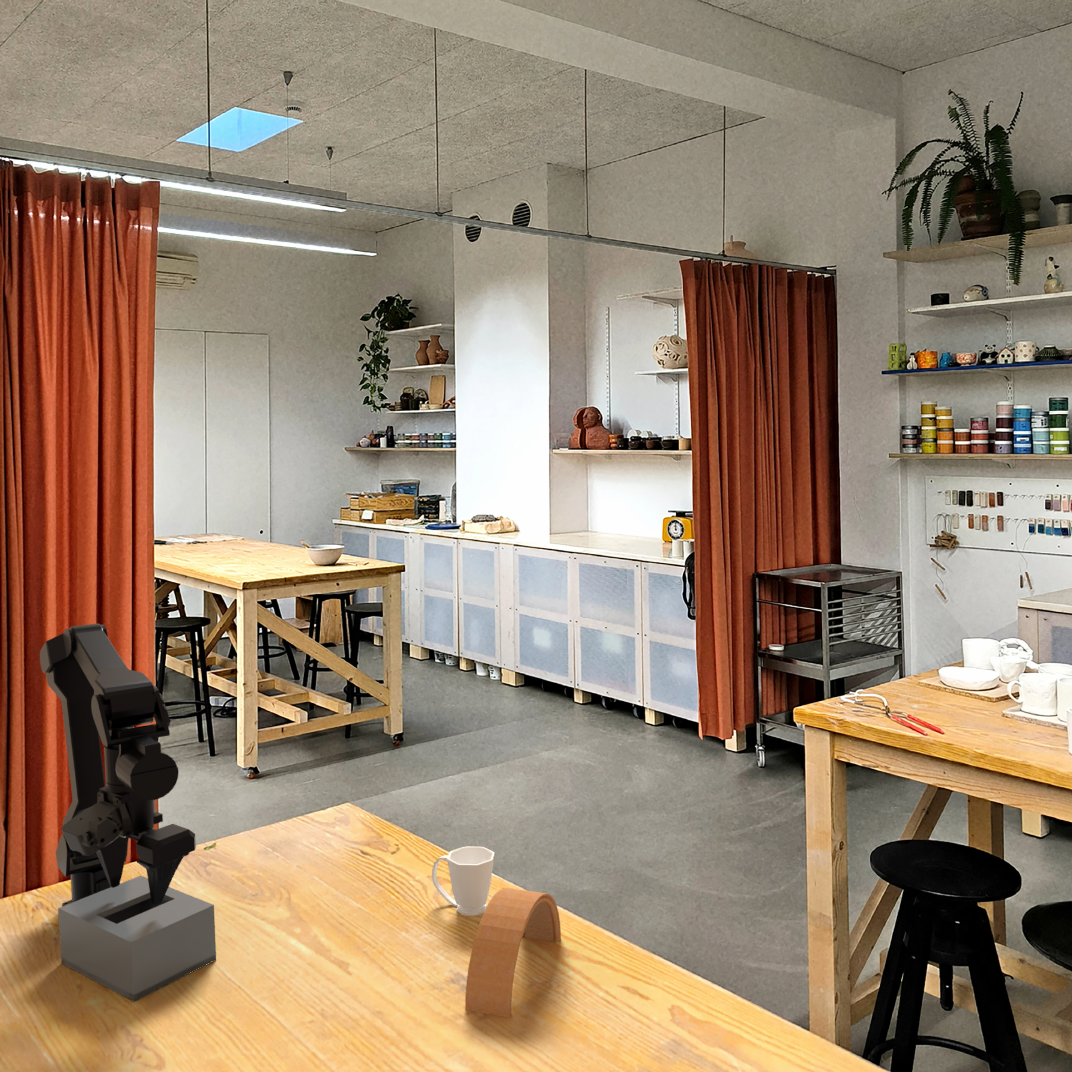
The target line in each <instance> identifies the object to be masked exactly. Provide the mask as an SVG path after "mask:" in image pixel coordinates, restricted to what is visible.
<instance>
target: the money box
mask: <svg viewBox="0 0 1072 1072" xmlns="http://www.w3.org/2000/svg"><path fill="white" fill-rule="evenodd" d="M57 911H58V928H59V929H58V930H59V931H58V932H59V944H60V945H59V946H60V963H61V964H62V965H64V966H66V967H67V968H68V969H69V968H70V970H72V971H75V972H77V973H78V974H81V975H82V976H84V977H86V978H88V979H90V980H91V981H94V982H96V983H97V984H100V985H101V986H103V987H105V988H107V989H110V990H111V991H113V992H115V993H117V994H119V995H121V996H122V997H124V998H126V999H128V1000H129V1001H133V1002H136V1001H138V1000H140V999H142V998H143V997H146V996H148V995H150V994H152V993H153V992H156V991H159V990H160V989H162V988H163V987H165V986H168V985H170V984H171V983H174V982H175V981H178V980H179V979H180V980H181V979H182V978H184V977H185V975H186V976H187V974H188V975H189V973H190V972H192V971H194V970H196V969H197V970H199V969H201V968H203V967H205V966H207V965H209V964H211V963H212V962H211V961H213V962H215V961H217V949H216V947H217V944H216V925H215V924H216V921H215V905H214V904H212V903H210V902H208V901H205V900H203V899H200V898H198V897H195V896H193V895H190V894H188V893H185V892H183V891H180V890H177V889H175V888H173V887H170V886H169V887H168V889H167V892H166V894H165V896H164V898H163V901H162V903H161V904H158V905H156V906H154V905H153V904H152V900H151V896H150V890H149V883H148V877H146V876H142V875H139V876H136V877H133V878H130V879H128V880H126V881H123V882H120V884H119V886H117V887H114V888H112V887H110V888H108V889H105V890H103V891H100V892H98V893H95V894H93V895H90V896H88V897H85V898H83V899H80V900H78V901H75V902H73V903H70V904H67V905H65V906H62V905H61V906H60V907H58V909H57ZM214 960H215V961H214ZM210 962H211V963H210ZM208 963H209V964H208ZM206 964H207V965H206ZM202 966H203V967H202ZM200 967H201V968H200ZM198 968H199V969H198ZM197 970H196V971H197ZM194 972H195V971H194ZM192 973H193V972H192ZM190 974H191V973H190ZM181 977H182V978H181Z"/></svg>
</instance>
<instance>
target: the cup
mask: <svg viewBox="0 0 1072 1072" xmlns="http://www.w3.org/2000/svg"><path fill="white" fill-rule="evenodd" d="M441 860H442V861H445V862H447V867H448V872H449V873H448V874H449V877H450V883H451V890H452V894H453V897H451V896H450V895H449V894H448V893H447V892H446V891H445V889H443V887H442V886H441V885H440V883H439V880H438V877H437V870H438V866H439V863H440V862H441ZM494 861H495V851H493V850H491V849H489V848H486V847H484V846H469V845H468V846H462V847H460V848H459V847H458V848H456V849H453V850H450V851H449V853H448V855H442V856H440V857H438V858H437V859H436V860H435V861H434V863H433V867H432V869H431V870H432V871H431V880H432V883H433V885H434V887H435V889H436V890H437V892H438V893H439V894H440V895H441V896H442V898H444V899H445V900H446V901H447V902H448V903H449V904H451V905H452V906H453V907H456V912H457V913H459V914H460V915H462V916H467V917H468V916H470V917H472V916H473V917H476V916H479V915H483V914H484V911H485V909H486V907H487V905H488V904H487V902H488V896H489V893H490V888H491V882H492V875H493V868H494ZM453 898H454V899H453Z"/></svg>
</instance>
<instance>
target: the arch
mask: <svg viewBox="0 0 1072 1072" xmlns="http://www.w3.org/2000/svg"><path fill="white" fill-rule="evenodd" d="M561 930H562V929H561V921H560V913H559V910H558V906H557V904H556V900H555V898H554V897H553V896H552V895H551V894H550V893H544V892H537V891H533V890H532V891H531V890H525V889H518V888H510V887H502V888H501V889H499V890H497V892H495V894H494V895H493V896H492V898H491V899H490V900H489V902H488V904H487V907H486V909H485V911H484V913H482V916H481V919H480V922H479V923H478V928H477V930H476V934H475V937H474V941H473V945H472V949H471V952H470V959H469V963H468V968H467V976H466V977H467V978H466V983H465V984H466V986H465V999H464V1001H465V1005H464V1006H465V1007H464V1008H465V1009H464V1010H466V1011H472V1012H477V1013H483V1014H488V1015H493V1016H498V1017H504V1018H510V1017H511V1015H512V1002H513V1000H512V998H513V987H514V978H515V972H516V966H517V960H518V956H519V953H520V952H519V950H520V947H521V944H522V939H523V937H524V938H527V939H534V940H538V941H539V940H540V941H546V942H547V941H548V942H554V943H558V942H560V941H561V939H562V937H561V936H562V931H561Z"/></svg>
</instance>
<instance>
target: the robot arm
mask: <svg viewBox="0 0 1072 1072" xmlns="http://www.w3.org/2000/svg"><path fill="white" fill-rule="evenodd" d="M108 634H109V633H108V630H107V627H106V626H105V624H100V623H91V624H89V623H88V624H80V625H73V626H70V627H69V628H65V630H64V631H63V632H62V633H60V634H59V635H56V636H54V637H51V638H50V639H48V640H46V641H45V642H44V644H43V645H42V647H41V649H40V651H39V663H40V668H41V671H42V673H43V674H45V676H46V677H45V678H46V684H47V686H48V687H49V688H50V689H51V690H52V692H53V693H54V694H55V695H56V696H57V697H58V698H59V700H60V701H61V707H62V718H63V727H64V735H65V743H66V746H65V747H66V753H67V754H66V755H67V762H68V763H67V765H68V772H69V780H70V788H71V798H72V800H71V801H72V802H71V804H70V806H69V808H68V809H67V811H66V813H65V816H64V818H63V820H62V826H61V832H62V834H60V838H59V841H58V843H57V844H58V845H57V847H56V851H55V856H56V857H55V858H56V863H57V864H56V866H57V868H58V869H59V870H60V871H61V873H62V874H63V876H64V877H65V878H66V877H70V887H71V889H70V893H71V899H70V900H68V901H67V900H66V901H64V902H63V903H61V907H62V906H65V905H67V904H70V903H73V902H75V901H78V900H80V899H83V898H85V897H88V896H90V895H93V894H95V893H98V892H100V891H103V890H105V889H108V888H110V887H112V888H114V887H117V886H119V884H120V883H121V880H122V877H123V872H124V866H125V863H126V862H127V857H128V849H129V839H130V840H133V841H136V843H135V849H136V850H135V851H136V855H137V856H138V858H139V859H137V860H136V861H135V862H136V863H137V864H139V865H140V866H142V867H143V868H144V869H145V870H146V875H147V878H148V883H149V890H150V896H151V900H152V904H153V905H154V906H156V905H158V904H161V903H162V901H163V898H164V896H165V894H166V892H167V889H168V887H170V885H171V882H172V880H173V878H174V875H175V873H176V871H177V870H178V867H179V866H180V865H181V862H182V861H183V859H184V858H185V857H186V856H189V855H190V853H192V852H194V851H196V849H197V843H196V842H197V841H196V833H194V831H192V830H190V829H189V828H186V827H184V826H180V825H179V824H178V825H177V824H175V823H169V824H168V825H165V826H162V827H159V828H154V827H155V825H157V824H160V823H162V822H164V819H163V817H164V816H163V813H160V812H158V811H156V800H159V799H162V798H163V797H166V796H167V795H168V794H169V793H170V792H171V791H172V790H173V789H174V788H175V786H176V784H177V782H178V779H179V767H178V765H177V762H176V761H175V760H174V758H173V757H172V756H170V755H169V754H168V753H166V752H164V751H163V750H162V745H161V744H162V743H160V741H158V739H159V738H163V737H168V736H170V734H171V732H170V729H169V727H170V724H171V718H170V715H169V713H168V709H167V707H166V703H165V700H164V698H163V695H162V694H161V693H160V690H159V688H158V687H157V686H156V685H154V683H153V682H152V681H151V680H150V679H149V678H148V677H147V675H146V674H144V672H140V671H137V670H132V669H129V668H128V667H127V665H126V664H125V662H124V660H123V658H122V657H121V656H120V654H119V652H118V651H117V649H116V648H115V647H114V645H113V644H112V642H111V640H110V639H109V636H108ZM153 722H155V723H153ZM152 723H153V724H152ZM140 725H141V726H140ZM101 743H102V745H103V749H104V763H103V754H102V747H101ZM104 769H105V773H104Z"/></svg>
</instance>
